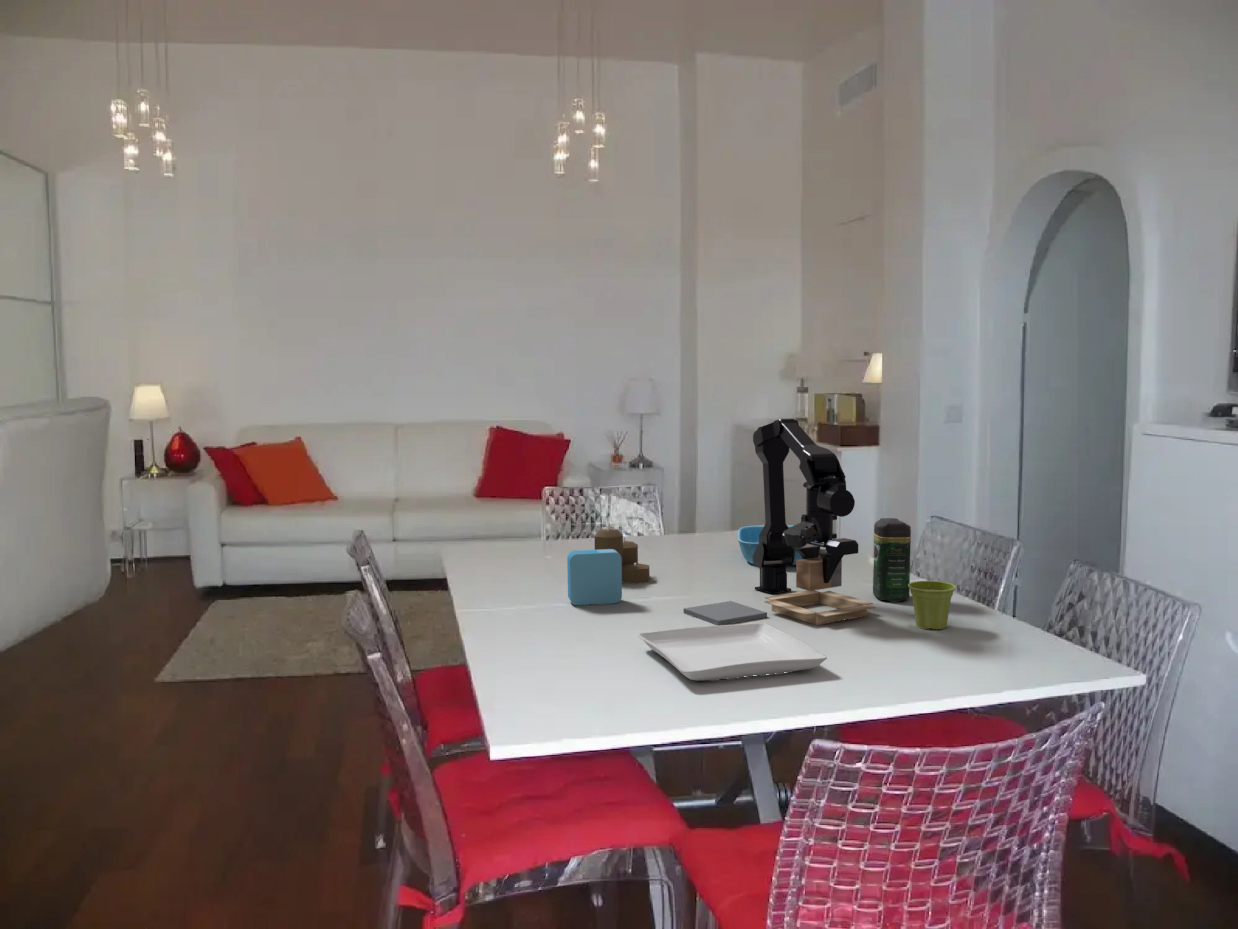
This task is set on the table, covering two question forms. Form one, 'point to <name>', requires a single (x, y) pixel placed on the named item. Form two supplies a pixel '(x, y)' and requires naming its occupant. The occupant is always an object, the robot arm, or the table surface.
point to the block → (815, 574)
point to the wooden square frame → (846, 604)
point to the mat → (725, 613)
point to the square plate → (732, 651)
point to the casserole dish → (754, 541)
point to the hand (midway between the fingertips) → (818, 581)
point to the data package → (594, 576)
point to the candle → (623, 554)
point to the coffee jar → (891, 560)
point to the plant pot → (931, 603)
